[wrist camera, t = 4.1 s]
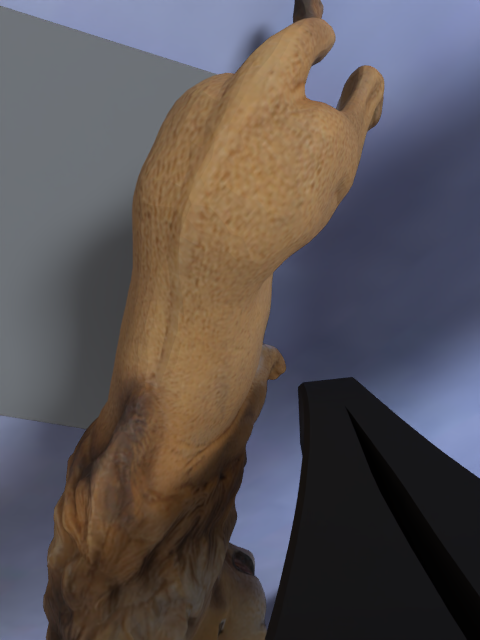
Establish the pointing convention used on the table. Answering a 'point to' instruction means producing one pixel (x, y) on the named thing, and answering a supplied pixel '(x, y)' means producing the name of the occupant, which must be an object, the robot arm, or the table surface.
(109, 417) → the lion figurine
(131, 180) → the rubber mat
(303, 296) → the table surface
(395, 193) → the table surface
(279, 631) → the robot arm
